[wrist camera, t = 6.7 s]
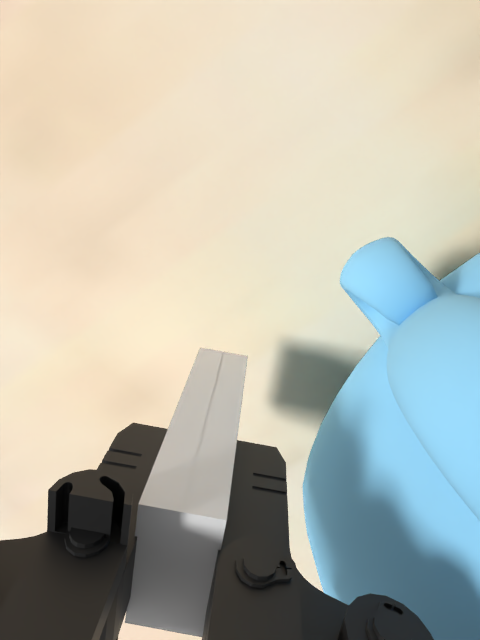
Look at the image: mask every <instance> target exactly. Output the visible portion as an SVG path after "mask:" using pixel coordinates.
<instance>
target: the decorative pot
mask: <svg viewBox="0 0 480 640" xmlns="http://www.w3.org/2000/svg"><path fill="white" fill-rule="evenodd" d="M340 284H341V287H342V288H343V289H344V290H345V291H346V293H347V294H348V295H349V296H350V298H351V299H352V300H353V301H354V302H355V304H356V305H357V306H358V307H359V308H360V310H361V311H362V312H363V313H364V314H365V316H366V317H367V318H368V319H369V320H370V322H371V323H372V324H373V326H374V327H375V328H376V330H377V331H378V332H379V334H380V335H381V336H380V337H379V338H378V339H377V340H376V342H375V343H374V344H373V345H372V347H371V348H370V349H369V350H368V352H367V353H366V354H365V355H364V357H363V358H362V359H361V360H360V362H359V363H358V364H357V365H356V367H355V368H354V370H353V371H352V373H351V374H350V376H349V377H348V379H347V380H346V382H345V383H344V385H343V386H342V388H341V389H340V391H339V392H338V394H337V395H336V397H335V399H334V401H333V403H332V405H331V407H330V408H329V410H328V412H327V414H326V416H325V418H324V419H323V421H322V423H321V426H320V428H319V431H318V433H317V436H316V438H315V441H314V444H313V446H312V449H311V452H310V455H309V458H308V462H307V467H306V472H305V477H304V482H303V501H304V513H305V521H306V528H307V534H308V538H309V542H310V545H311V549H312V553H313V557H314V560H315V564H316V568H317V571H318V575H319V578H320V582H321V585H322V588H323V591H324V593H325V594H327V595H329V596H331V597H333V598H335V599H337V600H339V601H341V602H343V603H345V604H347V605H350V604H351V603H352V602H353V601H354V600H355V599H356V598H357V597H359V596H363V595H366V594H370V593H371V594H378V595H385V596H388V597H390V598H392V599H394V600H396V601H398V602H400V603H402V604H404V605H405V606H406V607H407V608H409V609H410V610H411V611H412V612H413V613H415V614H416V615H417V616H418V617H419V618H420V620H421V621H422V622H423V624H424V625H425V626H426V628H427V629H428V631H429V632H430V633H431V635H432V637H433V639H434V640H480V253H479V254H477V255H475V256H474V257H472V258H471V259H470V260H468V261H467V262H465V263H464V264H463V265H461V266H460V267H458V268H457V269H456V270H454V271H453V272H451V273H450V274H448V275H447V276H446V277H444V278H443V279H441V280H440V281H439V280H438V279H437V278H436V277H434V276H433V275H432V274H431V273H430V272H429V271H428V270H427V269H426V268H425V267H424V266H423V265H422V264H421V263H419V262H418V261H417V260H416V259H415V258H414V257H413V256H412V255H411V254H410V253H409V252H408V251H407V250H406V249H405V248H404V246H403V245H402V244H401V243H400V242H399V241H398V240H396V239H394V238H390V237H387V238H382V239H379V240H376V241H373V242H371V243H369V244H367V245H365V246H363V247H362V248H360V249H359V250H357V251H356V252H355V253H354V254H353V255H352V256H351V257H350V259H349V260H348V261H347V263H346V264H345V266H344V268H343V270H342V273H341V277H340Z"/></svg>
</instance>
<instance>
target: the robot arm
mask: <svg viewBox="0 0 480 640" xmlns="http://www.w3.org/2000/svg"><path fill="white" fill-rule="evenodd" d="M247 358H248V356H244V355H239V354H233V353H228V352H222V351H217V350H211V349H206V348H200V349H199V352H198V354H197V357H196V359H195V362H194V364H193V367H192V369H191V372H190V374H189V377H188V380H187V382H186V385H185V387H184V390H183V392H182V395H181V397H180V400H179V402H178V405H177V407H176V410H175V412H174V415H173V418H172V420H171V423H170V425H169V428H168V429H164V428H159V427H153V426H148V425H142V424H137V423H132V424H131V425H129V426H128V427H126V428H125V429H124V430H122V431H121V432H119V433H118V434H117V436H116V437H115V439H114V441H113V443H112V444H111V446H110V448H109V451H107V453H106V455H105V456H104V458H103V460H102V463H100V465H99V467H98V469H97V470H84V471H79V472H74V473H72V474H70V475H68V476H66V477H63V478H61V479H59V480H58V481H57V482H56V483H55V484H54V485H53V486H52V487H51V488H50V489H49V490H48V525H47V532H45V533H43V534H40V535H37V536H34V537H28V538H22V539H13V540H2V541H0V640H118V634H119V631H120V628H121V625H122V622H123V619H124V616H125V613H126V619H125V623H130V624H135V625H140V626H146V627H151V628H156V629H162V630H167V631H172V632H177V633H183V634H188V635H194V636H199V637H202V640H434V639H433V637H432V635H431V633H430V632H429V631H428V629H427V628H426V626H425V625H424V624H423V622H422V621H421V620H420V618H419V617H418V616H417V615H416V614H415V613H413V612H412V611H411V610H410V609H409V608H407V607H406V606H405V605H404V604H402V603H400V602H398V601H396V600H394V599H392V598H390V597H388V596H385V595H378V594H371V593H370V594H366V595H363V596H359V597H357V598H356V599H355V600H354V601H353V602H352V603H351V604H350V605H347V604H345V603H343V602H341V601H339V600H337V599H335V598H333V597H331V596H329V595H327V594H325V593H323V592H322V591H320V590H318V589H317V588H315V587H314V586H312V585H311V584H310V583H309V582H308V581H307V580H306V579H305V578H303V576H302V575H301V574H300V572H299V571H298V570H297V568H296V565H295V563H294V561H293V560H292V558H291V554H290V548H289V527H288V504H287V482H286V462H285V461H284V459H283V457H282V456H281V454H280V452H279V451H278V449H277V448H276V447H271V446H266V445H260V444H255V443H249V442H244V441H238V440H237V436H238V428H239V420H240V412H241V405H242V397H243V389H244V381H245V373H246V366H247Z"/></svg>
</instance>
